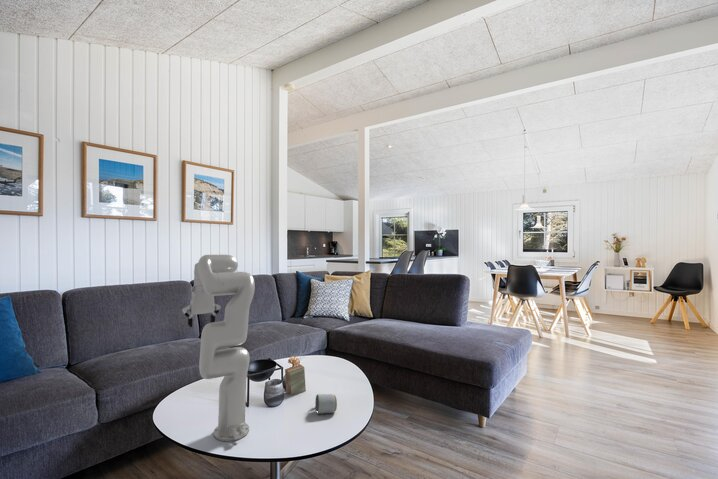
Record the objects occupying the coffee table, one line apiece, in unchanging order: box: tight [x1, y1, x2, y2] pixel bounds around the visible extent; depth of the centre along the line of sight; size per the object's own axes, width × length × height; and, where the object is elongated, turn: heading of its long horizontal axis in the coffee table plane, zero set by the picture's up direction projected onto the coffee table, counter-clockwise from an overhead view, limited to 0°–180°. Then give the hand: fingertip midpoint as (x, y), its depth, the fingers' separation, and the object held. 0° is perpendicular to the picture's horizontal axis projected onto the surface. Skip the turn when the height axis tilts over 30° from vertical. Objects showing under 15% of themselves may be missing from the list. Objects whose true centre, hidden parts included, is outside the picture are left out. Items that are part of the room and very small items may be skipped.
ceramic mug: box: [314, 393, 338, 415], centre depth 158 cm, size 11×8×8 cm
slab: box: [284, 364, 307, 396], centre depth 173 cm, size 4×8×12 cm, turn 128°
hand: (201, 325), depth 173 cm, fingers open, 9 cm apart
